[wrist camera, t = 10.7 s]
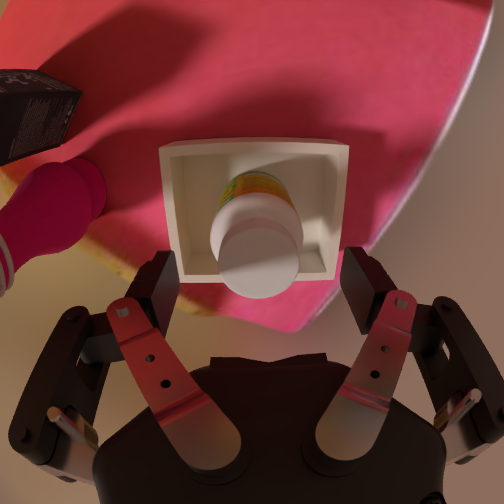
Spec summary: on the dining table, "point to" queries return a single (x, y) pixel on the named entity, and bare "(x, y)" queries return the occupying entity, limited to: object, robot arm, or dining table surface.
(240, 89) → the dining table surface
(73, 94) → the box
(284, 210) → the supplement bottle
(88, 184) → the pepper mill
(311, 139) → the tub
